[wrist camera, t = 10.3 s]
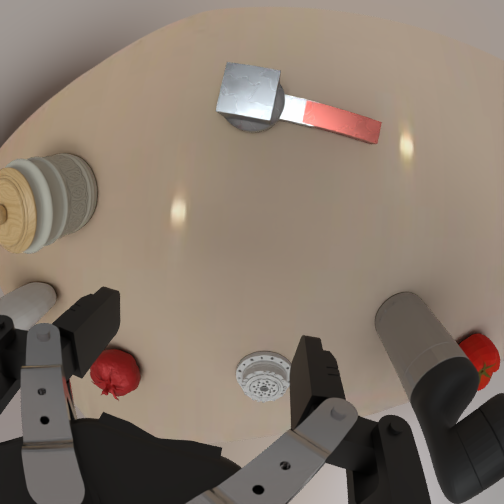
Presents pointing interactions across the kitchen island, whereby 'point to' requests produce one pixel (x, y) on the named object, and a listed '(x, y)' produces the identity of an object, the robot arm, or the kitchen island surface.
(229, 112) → the brushed metal cube
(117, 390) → the pomegranate
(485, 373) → the tomato
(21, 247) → the jar
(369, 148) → the kitchen island surface
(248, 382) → the mechanical component
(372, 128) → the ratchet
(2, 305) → the soap bottle
